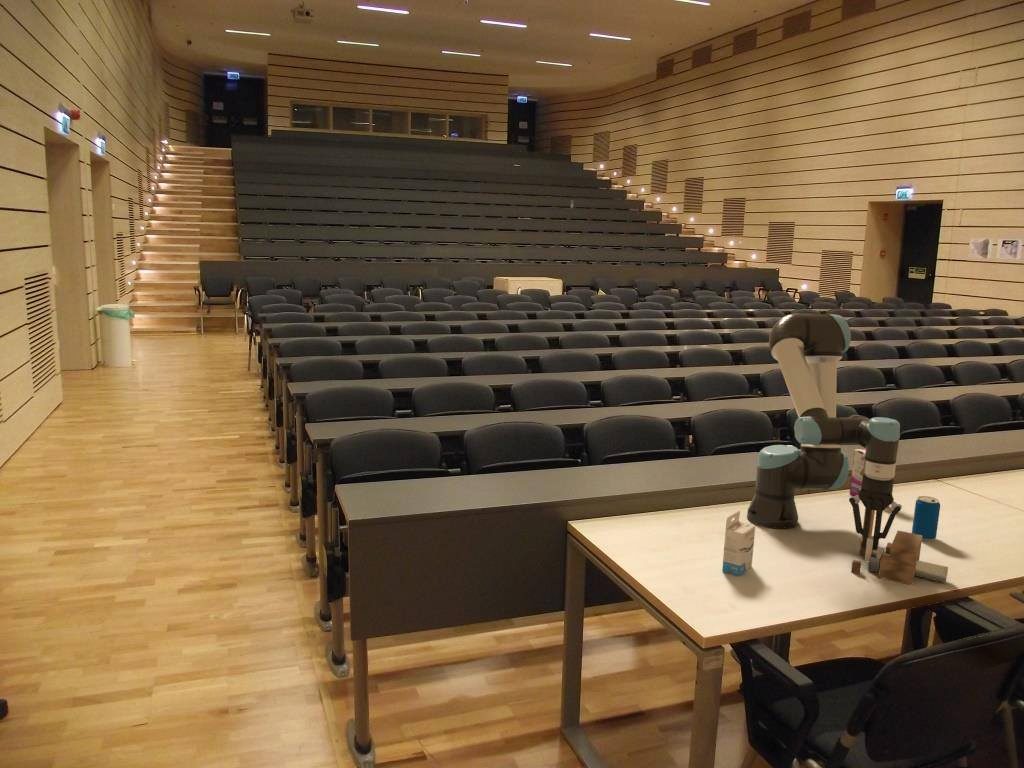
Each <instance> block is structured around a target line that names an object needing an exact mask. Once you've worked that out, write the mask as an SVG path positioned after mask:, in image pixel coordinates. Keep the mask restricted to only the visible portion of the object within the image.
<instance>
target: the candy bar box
mask: <svg viewBox="0 0 1024 768" xmlns="http://www.w3.org/2000/svg"><path fill="white" fill-rule="evenodd" d="M853 452H854V453H853V461H852V468H851V469H852V471H851V476H850V477H851V479H850V487H849V495H850V496H856V495H858V494H859V492H860V491H861V487H862V478H863V475H864V472H863V469H864V461H865V452H866V448H858V449H857V448H856V449H854V451H853Z"/></svg>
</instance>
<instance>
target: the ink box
mask: <svg viewBox="0 0 1024 768" xmlns="http://www.w3.org/2000/svg"><path fill="white" fill-rule="evenodd" d="M740 514H741V511H740V510H738V511H736V512H734V513H733V514H731V515H729V516H728V517H727V518H726V522H725V532H724V533H725V534H724V543H723V544H724V546H723V554H722V555H723V557H722V567H721V568H722V569H721V570H722V572H723V573H726V574H727V573H728V574H731V575H734V576H737V577H740V576H741V575H742V574H744V573H745V572H747V571H748V570H749V569H750V568H752V567H753V556H754V543H755V535H756V534H755V533H756V524H752V523H748V522H744V521H740V516H741V515H740ZM733 518H734V519H733Z"/></svg>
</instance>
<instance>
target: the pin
mask: <svg viewBox="0 0 1024 768" xmlns="http://www.w3.org/2000/svg"><path fill="white" fill-rule="evenodd" d="M885 550H886V547H880V546H878V548H877V550H873V551H872V553H871V556H870V560H869V562H868V571H870V572H875V573H879V568H880V560H881V557H882V555H883V554H884V555H888V556H890V554H886V553H885ZM948 571H949V566H945V565H940V564H937V563H932V562H927V561H922V560H919V561H918V560H917V562H916V569H915V576H916V577H919V578H920V577H921V578H925V579H929V580H933V581H938V582H942V583H947V580H948V579H947V578H948Z"/></svg>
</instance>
